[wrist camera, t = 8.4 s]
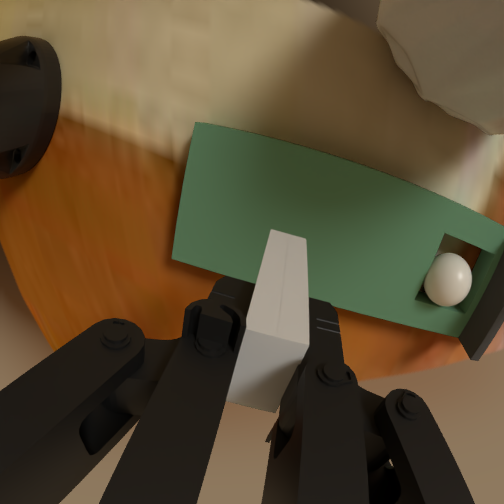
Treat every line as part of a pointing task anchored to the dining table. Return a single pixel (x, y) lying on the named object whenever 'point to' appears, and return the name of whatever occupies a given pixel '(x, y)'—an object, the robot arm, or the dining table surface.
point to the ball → (448, 279)
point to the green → (335, 230)
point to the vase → (451, 54)
